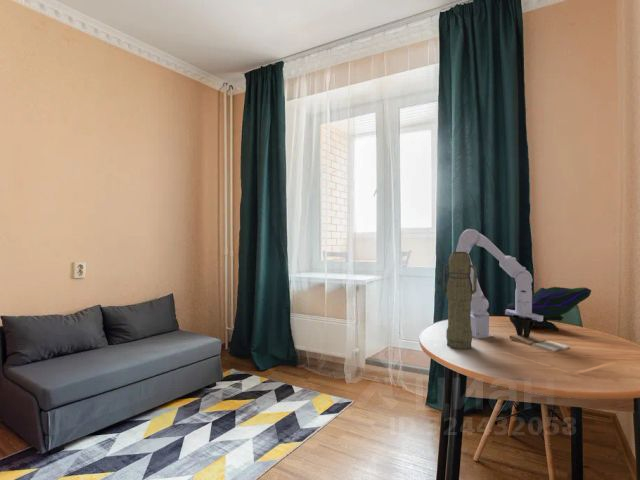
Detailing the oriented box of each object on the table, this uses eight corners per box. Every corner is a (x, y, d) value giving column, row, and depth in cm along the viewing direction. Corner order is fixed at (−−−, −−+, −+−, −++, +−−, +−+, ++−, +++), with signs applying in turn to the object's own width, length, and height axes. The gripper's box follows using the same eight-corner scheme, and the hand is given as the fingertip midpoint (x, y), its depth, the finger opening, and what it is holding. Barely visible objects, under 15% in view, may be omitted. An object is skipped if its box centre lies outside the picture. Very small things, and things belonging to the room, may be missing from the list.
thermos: (476, 351, 132) (477, 252, 132) (441, 347, 136) (442, 252, 136) (476, 344, 140) (477, 251, 140) (443, 341, 145) (444, 251, 144)
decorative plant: (512, 343, 175) (573, 326, 175) (537, 335, 151) (608, 315, 151) (493, 301, 183) (552, 285, 183) (514, 287, 159) (581, 269, 160)
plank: (528, 346, 138) (529, 343, 138) (509, 338, 145) (509, 335, 145) (545, 343, 143) (545, 340, 142) (526, 335, 150) (526, 332, 150)
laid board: (552, 353, 130) (552, 349, 130) (531, 347, 137) (531, 343, 137) (569, 349, 135) (569, 346, 135) (547, 343, 142) (547, 340, 142)
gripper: (548, 303, 141) (548, 339, 141) (513, 298, 154) (513, 330, 154) (536, 305, 137) (536, 341, 138) (501, 299, 150) (501, 332, 151)
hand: (523, 336), depth 145 cm, fingers closed on plank, 2 cm apart
